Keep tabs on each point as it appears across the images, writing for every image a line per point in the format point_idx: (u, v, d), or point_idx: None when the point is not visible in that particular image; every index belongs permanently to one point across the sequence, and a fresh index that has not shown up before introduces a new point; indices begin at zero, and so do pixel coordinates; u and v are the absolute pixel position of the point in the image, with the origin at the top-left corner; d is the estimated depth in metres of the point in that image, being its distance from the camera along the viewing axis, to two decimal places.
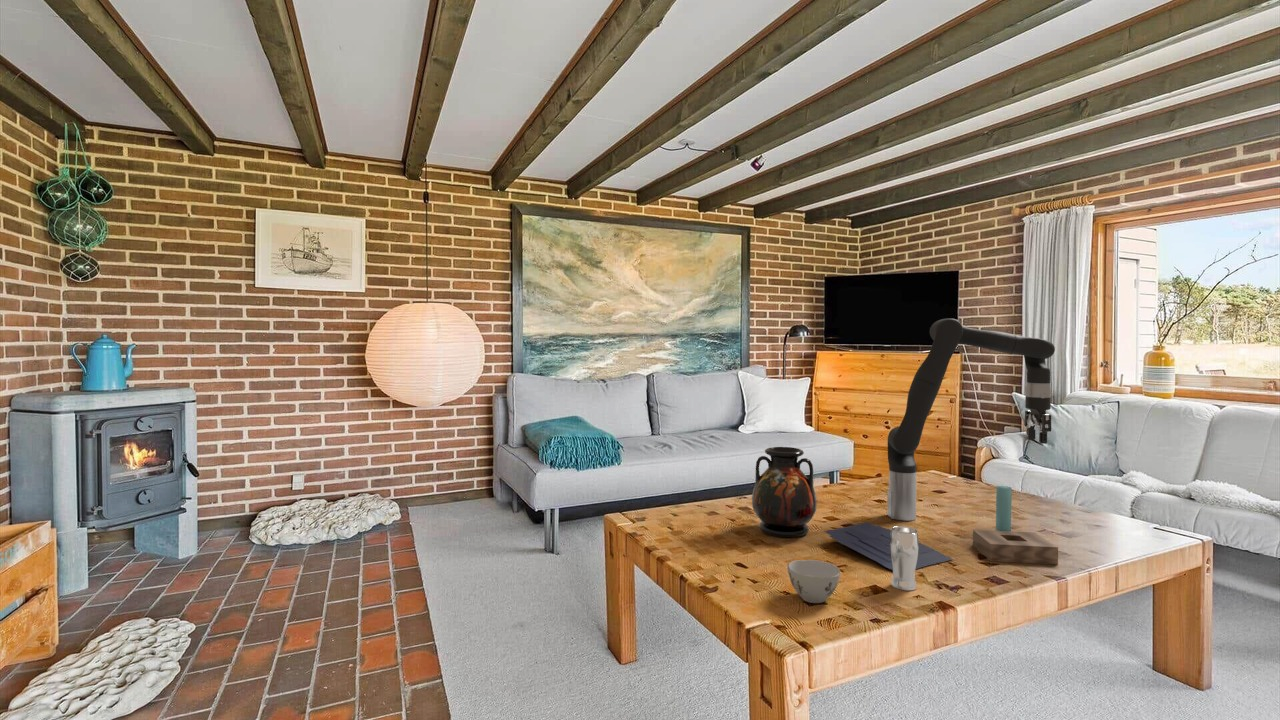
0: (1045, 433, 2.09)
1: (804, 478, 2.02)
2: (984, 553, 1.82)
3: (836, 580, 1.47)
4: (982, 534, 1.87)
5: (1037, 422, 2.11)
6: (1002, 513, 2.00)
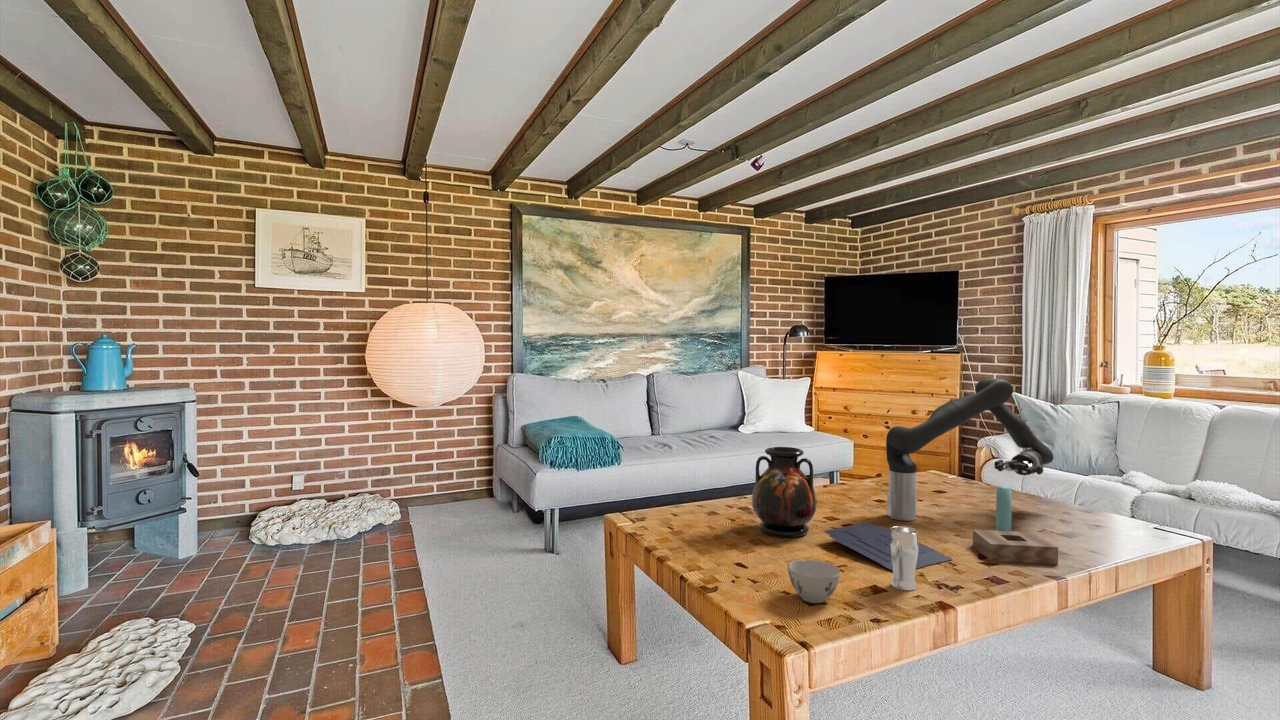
0: (1033, 471, 2.08)
1: (804, 478, 2.02)
2: (984, 553, 1.82)
3: (836, 580, 1.47)
4: (982, 534, 1.87)
5: (1029, 463, 2.12)
6: (1002, 513, 2.00)
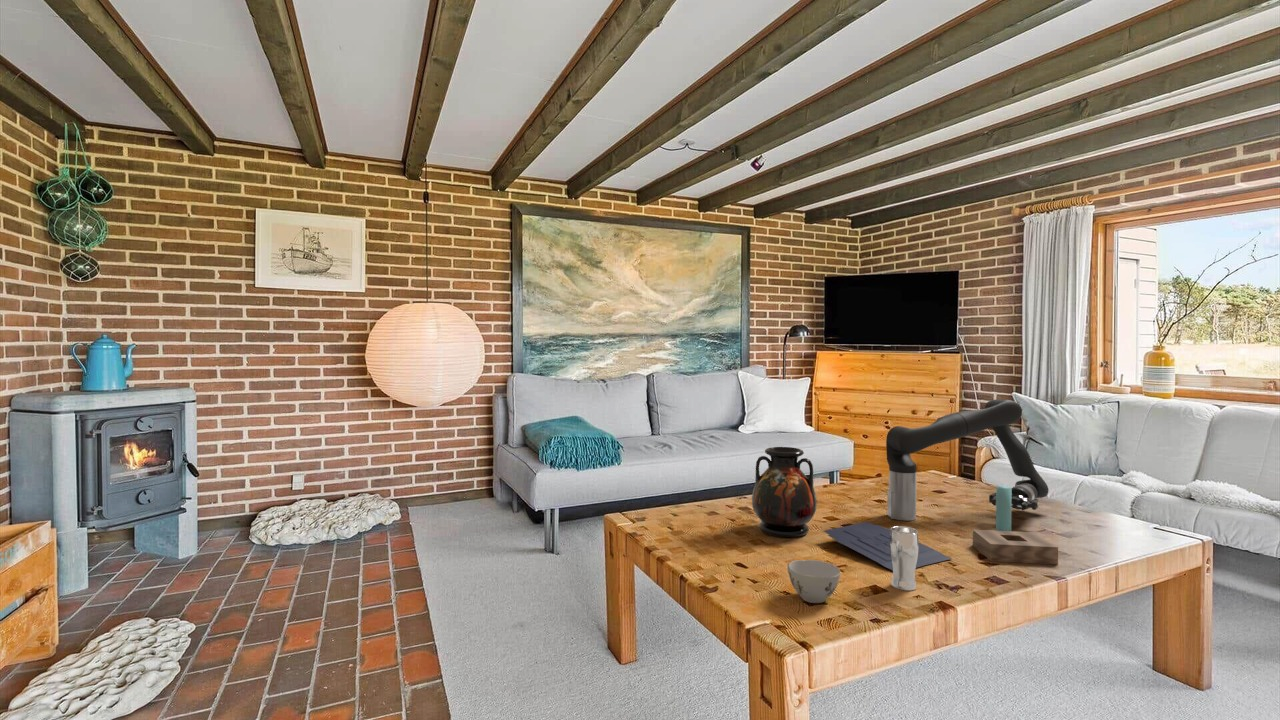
0: (1029, 506, 2.05)
1: (804, 478, 2.02)
2: (984, 553, 1.82)
3: (836, 580, 1.47)
4: (982, 534, 1.87)
5: None
6: (1002, 513, 2.00)
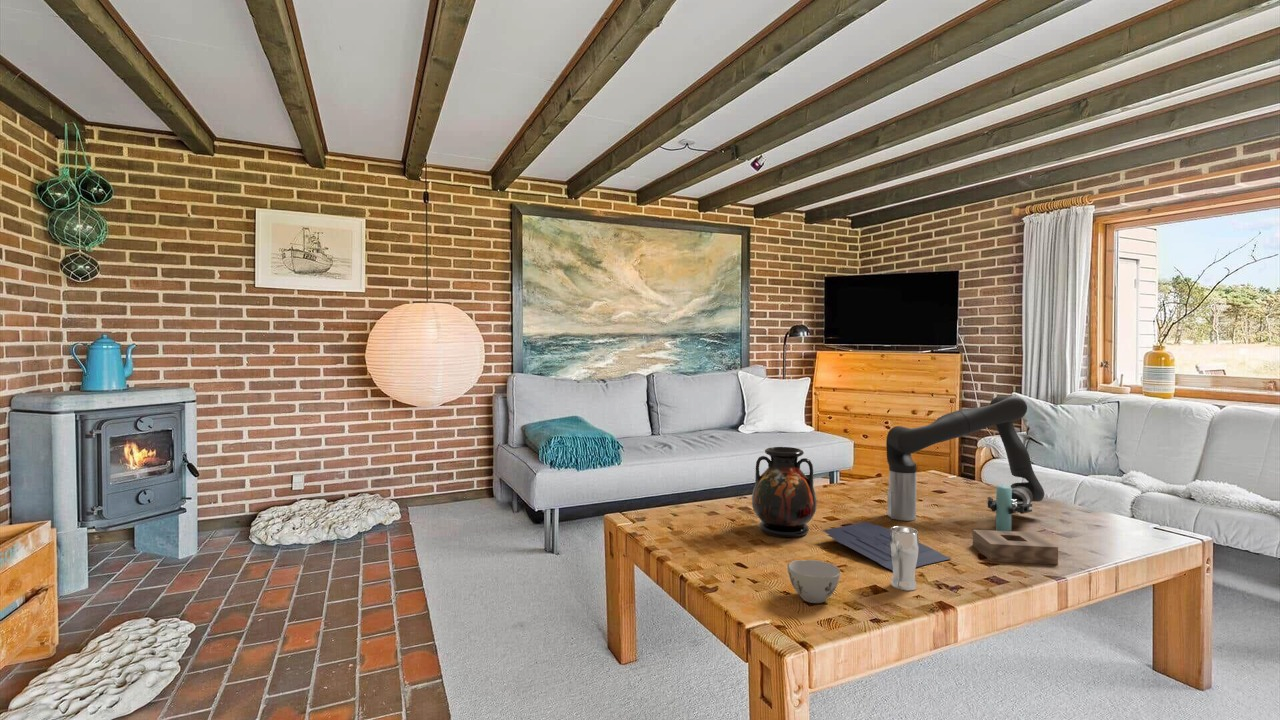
0: (1016, 510, 2.00)
1: (804, 478, 2.02)
2: (984, 553, 1.82)
3: (836, 580, 1.47)
4: (982, 534, 1.87)
5: (1016, 502, 2.03)
6: (1003, 513, 2.00)
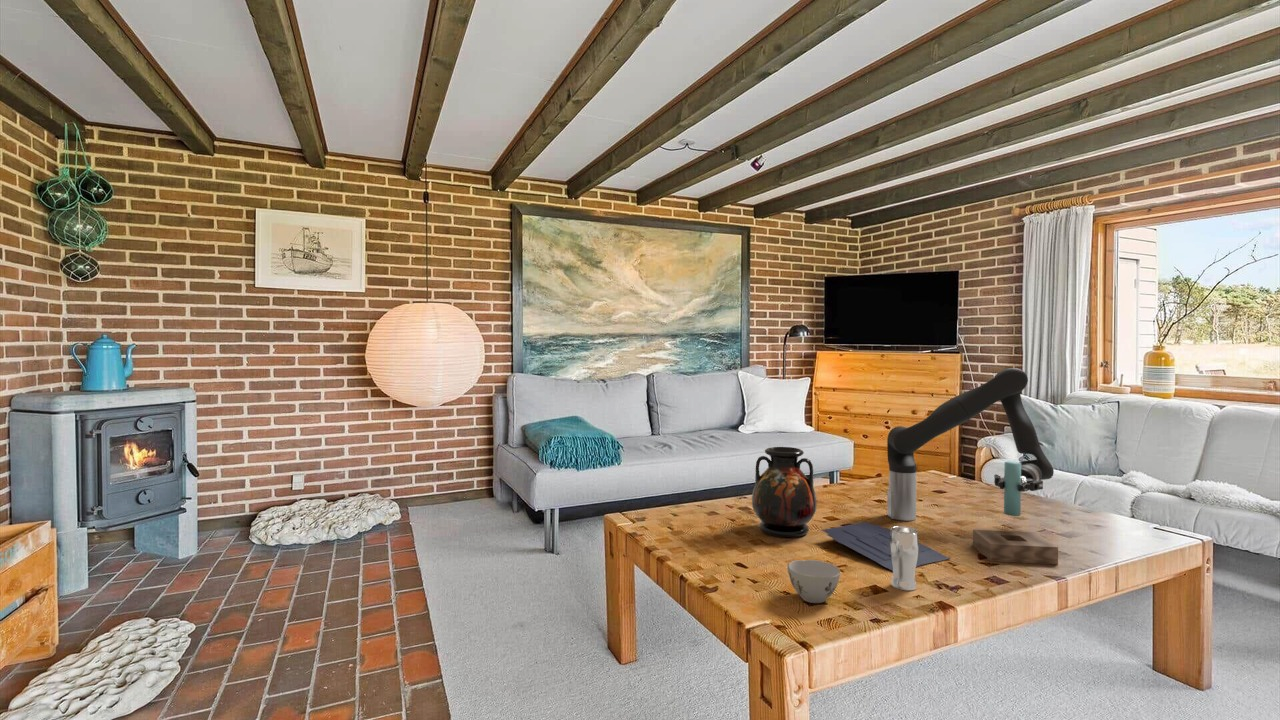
0: (1026, 487, 1.86)
1: (804, 478, 2.02)
2: (984, 553, 1.82)
3: (836, 580, 1.47)
4: (982, 534, 1.87)
5: (1026, 479, 1.89)
6: (1011, 490, 1.86)
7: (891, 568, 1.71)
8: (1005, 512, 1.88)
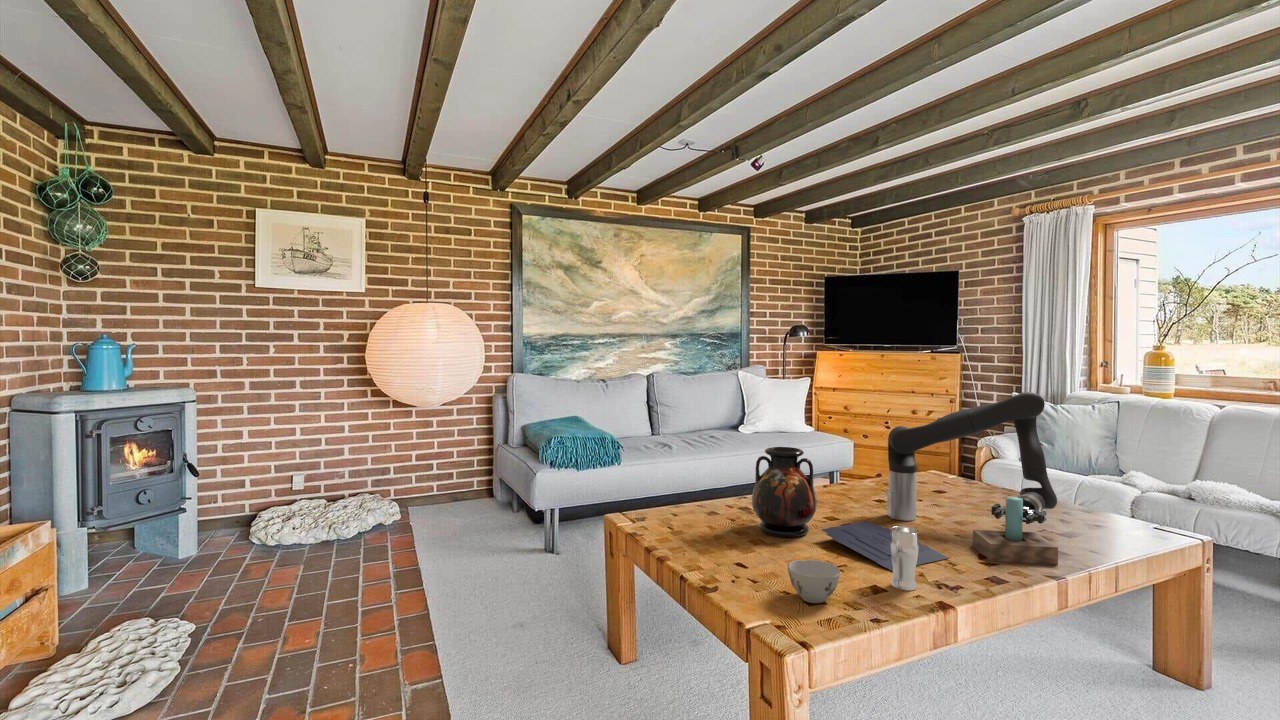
0: (1034, 519, 1.81)
1: (804, 478, 2.02)
2: (984, 553, 1.82)
3: (836, 580, 1.47)
4: (982, 534, 1.87)
5: (1030, 510, 1.84)
6: (1013, 527, 1.81)
7: (890, 568, 1.71)
8: None
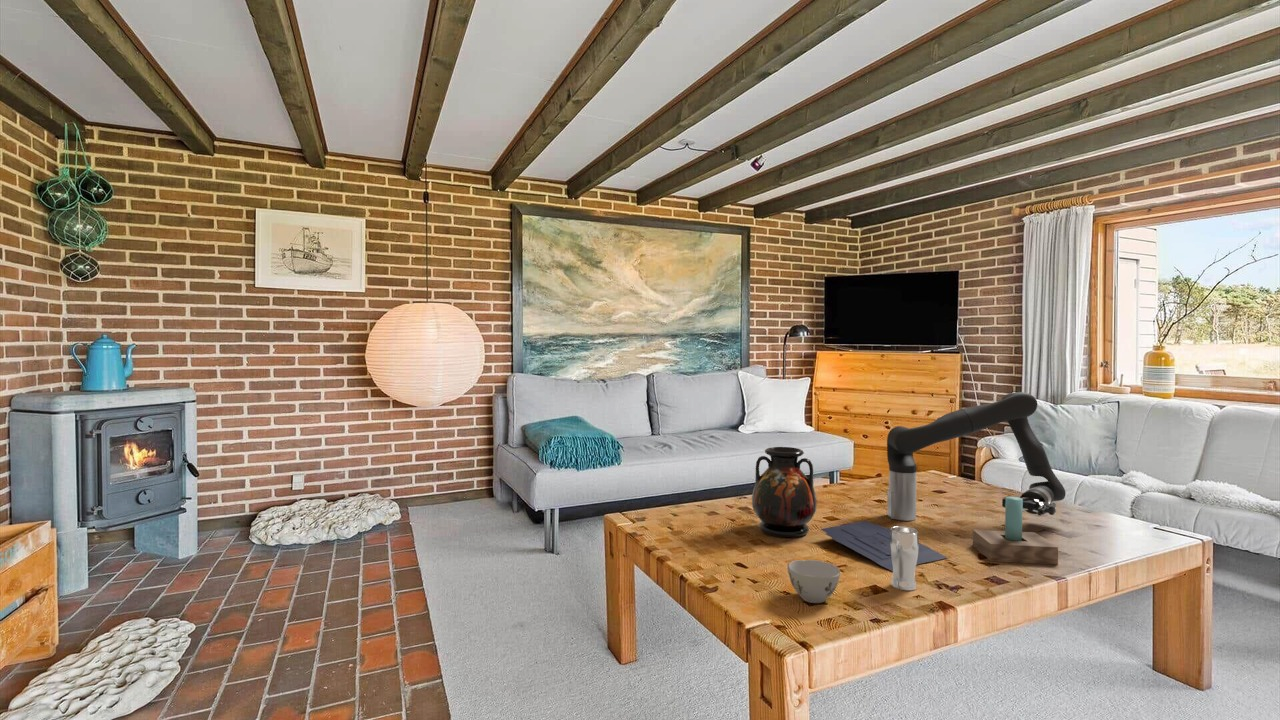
0: (1045, 511, 1.90)
1: (804, 478, 2.02)
2: (984, 553, 1.82)
3: (836, 580, 1.47)
4: (982, 534, 1.87)
5: None
6: (1013, 527, 1.82)
7: (888, 567, 1.71)
8: None
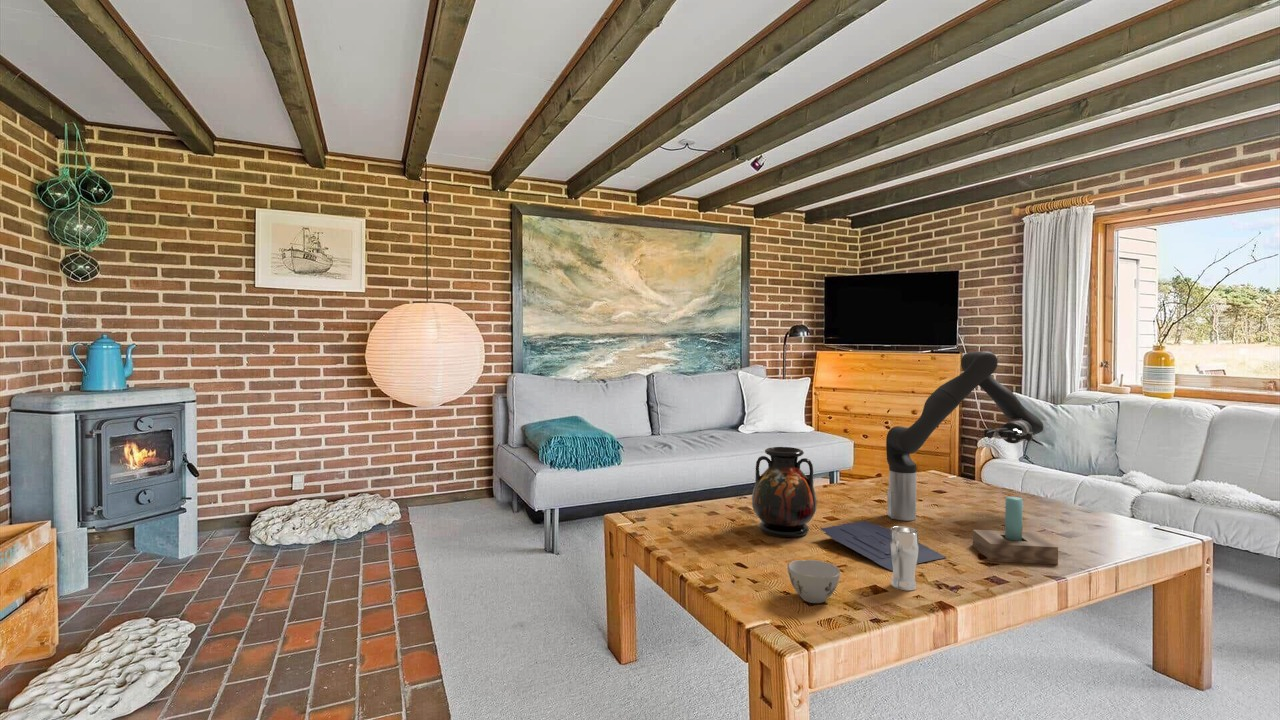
0: (1023, 437, 2.06)
1: (804, 478, 2.02)
2: (984, 553, 1.82)
3: (836, 580, 1.47)
4: (982, 534, 1.87)
5: (1019, 431, 2.10)
6: (1013, 527, 1.82)
7: (887, 566, 1.72)
8: None
